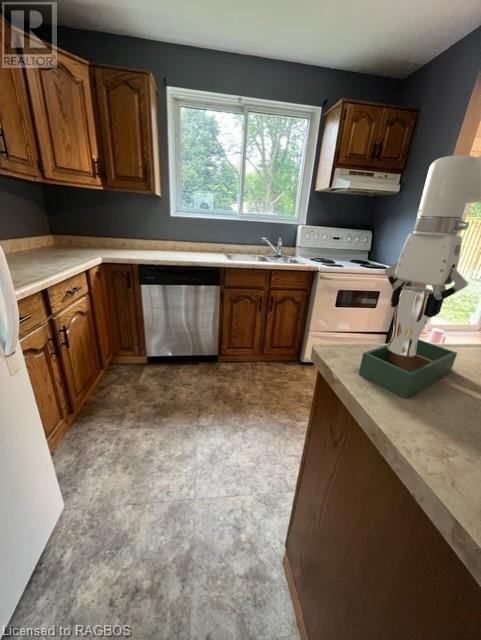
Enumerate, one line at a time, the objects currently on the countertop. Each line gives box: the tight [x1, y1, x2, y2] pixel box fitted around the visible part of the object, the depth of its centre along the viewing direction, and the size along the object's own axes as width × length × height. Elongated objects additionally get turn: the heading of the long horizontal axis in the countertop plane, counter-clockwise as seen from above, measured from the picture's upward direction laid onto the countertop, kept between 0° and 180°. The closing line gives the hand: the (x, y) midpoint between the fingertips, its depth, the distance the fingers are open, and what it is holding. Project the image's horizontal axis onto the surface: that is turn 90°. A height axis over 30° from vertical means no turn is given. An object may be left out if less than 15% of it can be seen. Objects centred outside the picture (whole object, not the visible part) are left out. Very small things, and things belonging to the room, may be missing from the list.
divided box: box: [358, 339, 458, 400], centre depth 69 cm, size 22×12×6 cm, turn 122°
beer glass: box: [387, 285, 434, 357], centre depth 62 cm, size 7×7×15 cm
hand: (412, 310), depth 61 cm, fingers closed on beer glass, 7 cm apart
